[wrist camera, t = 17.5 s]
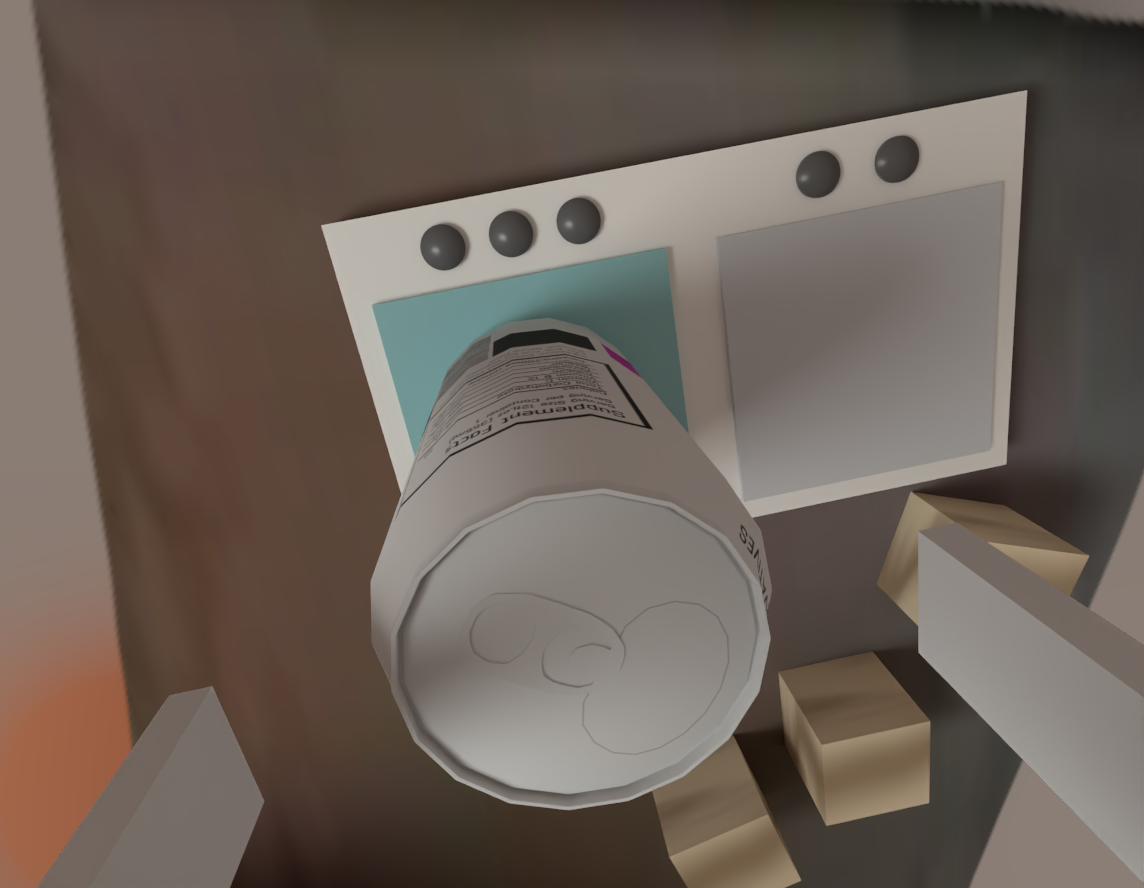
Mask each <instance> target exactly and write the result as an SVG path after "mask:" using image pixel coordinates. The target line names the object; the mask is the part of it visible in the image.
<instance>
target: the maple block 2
mask: <svg viewBox="0 0 1144 888" xmlns="http://www.w3.org/2000/svg"><path fill="white" fill-rule="evenodd" d="M779 683H780V694H781V706H782V717H783V729H784V740H785V747H786V749H787V751H788V753H789V755H790V756H791V758H792V760H793V762H794V764H795V766H796V768H797V770H798V772H799V774H800V776H801V778H802V780H803V781H804V783H805V785H806V787H807V789H808V791H809V793H810V795H811V797H812V799H813V801H814V803H815V805H816V806H817V808H818V810H819V812H820V814H821V816H822V818H823V820H824V822H825V824H826V826H828V825H833V824H837V823H842V822H846V821H851V820H855V819H860V818H864V817H869V816H873V815H878V814H882V813H887V812H891V811H896V810H900V809H904V808H909V807H913V806H918V805H922V804H927V803H929V777H930V720H929V719H928V718H927V717H926V715H925V714H924V713H923V712H922V710H921V709H920V708H919V707H918V706H917V704H916V703H915V702H914V701H913V700H912V698H911V697H910V696H909V695H908V694H907V692H906V691H905V690H904V689H903V688H902V686H901V685H900V684H899V683H898V682H897V680H896V679H895V678H894V677H893V675H892V674H891V673H890V672H889V671H888V669H887V668H886V667H885V666H884V665H883V663H882V662H881V661H880V660H879V659H878V657H877V656H876V655H875V654H874V653H873V651H872V652H867V653H863V654H858V655H853V656H849V657H844V658H840V659H835V660H830V661H826V662H821V663H817V664H812V665H807V666H803V667H798V668H794V669H789V670H785V671H780V672H779Z"/></svg>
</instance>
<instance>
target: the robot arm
mask: <svg viewBox="0 0 1144 888" xmlns="http://www.w3.org/2000/svg"><path fill="white" fill-rule="evenodd" d="M918 652H919V654H920V655H921V656H922V657H923V658H924V659H925V660H926V661H927V662H928V663H929V664H930V665H931V666H932V667H933V668H934V669H935V670H936V671H937V672H938V673H939V674H940V675H941V676H942V677H943V678H944V679H945V680H946V681H947V682H948V683H949V684H950V685H951V686H952V687H953V688H954V689H955V690H956V691H957V692H958V694H959V695H960V696H961V697H962V698H963V699H964V700H965V701H966V702H967V703H968V704H969V705H970V706H971V707H972V708H973V709H974V710H975V711H976V712H977V713H978V714H979V715H980V716H981V717H982V718H983V719H984V720H985V721H986V722H987V723H988V724H989V725H990V726H991V727H992V728H993V729H994V730H995V731H996V732H997V733H998V735H999V736H1000V737H1001V738H1002V739H1003V740H1004V741H1005V742H1006V743H1007V744H1008V745H1009V746H1010V747H1011V748H1012V749H1013V750H1014V751H1015V752H1016V753H1017V754H1018V755H1019V756H1020V757H1021V758H1022V759H1023V760H1024V761H1025V762H1026V763H1027V764H1028V765H1029V766H1030V767H1031V768H1032V769H1033V770H1034V771H1035V772H1036V773H1037V774H1038V776H1039V777H1040V778H1042V780H1043V781H1044V782H1045V783H1046V784H1047V785H1048V786H1049V787H1050V788H1051V789H1052V790H1053V791H1054V792H1055V793H1056V794H1057V795H1058V796H1059V797H1060V798H1061V799H1062V800H1063V801H1064V802H1065V803H1066V804H1067V805H1068V806H1069V807H1070V808H1071V809H1072V810H1073V811H1074V812H1075V813H1076V814H1077V815H1078V817H1079V818H1080V819H1081V820H1083V822H1084V823H1085V824H1086V825H1087V826H1088V827H1089V828H1090V829H1091V830H1092V831H1093V832H1094V833H1095V834H1096V835H1097V836H1098V837H1099V838H1100V839H1101V840H1102V841H1103V842H1104V843H1105V844H1106V845H1107V846H1108V847H1109V848H1110V849H1111V850H1112V851H1113V852H1114V853H1115V854H1116V855H1117V857H1118V858H1119V859H1120V860H1122V862H1123V863H1124V864H1125V865H1126V866H1127V867H1128V868H1129V869H1130V870H1131V871H1132V872H1133V873H1134V874H1135V875H1136V876H1137V877H1138V878H1139V879H1140V880H1141V881H1142V882H1143V883H1144V645H1143V644H1141V643H1140V642H1138V641H1137V640H1135V639H1134V638H1132V637H1131V636H1129V635H1128V634H1126V633H1125V632H1123V631H1122V630H1120V629H1119V628H1117V627H1116V626H1114V625H1113V624H1111V623H1110V622H1108V621H1106V620H1105V619H1103V618H1102V617H1100V616H1099V615H1097V614H1096V613H1094V612H1093V611H1091V610H1090V609H1088V608H1087V607H1085V606H1084V605H1082V604H1081V603H1079V602H1078V601H1076V600H1074V599H1073V598H1071V597H1070V596H1068V595H1067V594H1065V593H1064V592H1062V591H1061V590H1059V589H1058V588H1056V587H1055V586H1053V585H1052V584H1050V583H1049V582H1047V581H1046V580H1044V579H1043V578H1041V577H1039V576H1038V575H1036V574H1035V573H1033V572H1032V571H1030V570H1029V569H1027V568H1026V567H1024V566H1023V565H1021V564H1020V563H1018V562H1017V561H1015V560H1014V559H1012V558H1011V557H1009V556H1007V555H1006V554H1004V553H1003V552H1001V551H1000V550H998V549H997V548H995V547H994V546H992V545H991V544H989V543H988V542H986V541H985V540H983V539H982V538H980V537H979V536H977V535H976V534H974V533H972V532H971V531H969V530H968V529H966V528H965V527H963V526H962V525H960V524H959V523H953V524H948V525H944V526H939V527H935V528H930V529H926V530H921V531H918ZM263 803H264V800H263V797H262V795H261V793H260V791H259V789H258V786H257V784H256V782H255V780H254V778H253V775H252V773H251V771H250V769H249V766H248V764H247V762H246V760H245V758H244V755H243V753H242V751H241V749H240V747H239V744H238V742H237V740H236V738H235V735H234V733H233V731H232V729H231V727H230V724H229V722H228V720H227V718H226V716H225V713H224V711H223V709H222V707H221V704H220V702H219V700H218V698H217V696H216V693H215V691H214V689H213V687H212V686H211V687H206V688H202V689H197V690H193V691H188V692H184V693H179V694H175V695H170V696H168V698H167V699H166V701H165V702H164V704H163V705H162V707H161V708H160V709H159V711H158V712H157V714H156V715H155V717H154V718H153V720H152V721H151V723H150V724H149V725H148V727H147V728H146V730H145V731H144V733H143V734H142V736H141V737H140V739H139V740H138V741H137V743H136V744H135V746H134V747H133V749H132V750H131V752H130V753H129V755H128V756H127V757H126V759H125V760H124V762H123V763H122V765H121V766H120V768H119V769H118V770H117V772H116V773H115V775H114V776H113V778H112V779H111V781H110V782H109V784H108V785H107V787H106V788H105V789H104V791H103V792H102V794H101V795H100V797H99V798H98V800H97V801H96V802H95V804H94V806H93V807H92V808H91V810H90V811H89V813H88V814H87V816H86V817H85V818H84V820H83V821H82V823H81V824H80V826H79V827H78V829H77V830H76V832H75V833H74V834H73V836H72V837H71V839H70V840H69V842H68V843H67V845H66V846H65V847H64V849H63V851H62V852H61V853H60V855H59V856H58V858H57V859H56V861H55V862H54V863H53V865H52V866H51V868H50V869H49V871H48V872H47V874H46V875H45V876H44V878H43V879H42V881H41V882H40V884H39V885H38V887H37V888H230V886H231V884H232V881H233V879H234V876H235V874H236V871H237V869H238V866H239V864H240V861H241V859H242V856H243V854H244V851H245V849H246V846H247V844H248V841H249V839H250V836H251V834H252V831H253V829H254V826H255V824H256V821H257V819H258V816H259V813H260V811H261V808H262V806H263Z"/></svg>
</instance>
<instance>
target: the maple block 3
mask: <svg viewBox="0 0 1144 888" xmlns="http://www.w3.org/2000/svg"><path fill="white" fill-rule="evenodd" d="M953 523H959V524H960V525H962V526H963V527H965V528H966V529H968V530H969V531H971V532H972V533H974V534H976V535H977V536H979V537H980V538H982V539H983V540H985V541H986V542H988V543H989V544H991V545H992V546H994V547H995V548H997V549H998V550H1000V551H1001V552H1003V553H1004V554H1006V555H1007V556H1009V557H1011V558H1012V559H1014V560H1015V561H1017V562H1018V563H1020V564H1021V565H1023V566H1024V567H1026V568H1027V569H1029V570H1030V571H1032V572H1033V573H1035V574H1036V575H1038V576H1039V577H1041V578H1043V579H1044V580H1046V581H1047V582H1049V583H1050V584H1052V585H1053V586H1055V587H1056V588H1058V589H1059V590H1061V591H1062V592H1064V593H1065V594H1067V595H1068V596H1070V594H1071V592H1072V590H1073V588H1074V586H1075V584H1076V582H1077V580H1078V578H1079V576H1080V574H1081V572H1082V570H1083V568H1084V566H1085V564H1086V562H1087V560H1088V558H1089V555H1087V554H1086V553H1084V552H1082V551H1081V550H1079V549H1077V548H1076V547H1074V546H1072V545H1071V544H1069V543H1067V542H1065V541H1064V540H1062V539H1060V538H1059V537H1057V536H1055V535H1054V534H1052V533H1050V532H1049V531H1047V530H1045V529H1044V528H1042V527H1040V526H1039V525H1037V524H1035V523H1033V522H1032V521H1030V520H1028V519H1027V518H1025V517H1023V516H1022V515H1020V514H1018V513H1017V512H1015V511H1013V510H1012V509H1010V508H1008V507H1006V506H1005V505H999V504H992V503H985V502H978V501H971V500H964V499H957V498H950V497H944V496H937V495H930V494H923V493H916V492H911V493H910V496H909V499H908V501H907V504H906V507H905V509H904V512H903V515H902V517H901V520H900V522H899V525H898V528H897V530H896V533H895V536H894V538H893V541H892V544H891V546H890V549H889V552H888V554H887V557H886V559H885V562H884V565H883V567H882V570H881V573H880V575H879V578H878V581H877V583H876V584H877V585H878V586H879V587H880V588H881V589H882V590H883V591H884V592H885V593H886V594H887V595H888V596H889V597H890V598H891V599H892V600H893V601H894V602H895V603H896V604H897V605H898V606H899V607H900V608H901V609H902V610H903V611H904V612H905V613H906V614H907V615H908V616H909V617H910V618H911V619H912V620H913V621H914V622H915V623H916V624H917V625H918V531H921V530H926V529H930V528H935V527H939V526H944V525H948V524H953Z"/></svg>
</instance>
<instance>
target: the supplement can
mask: <svg viewBox="0 0 1144 888" xmlns="http://www.w3.org/2000/svg"><path fill="white" fill-rule="evenodd" d="M771 592H772V587H771V581H770V576H769V571H768V565H767V560H766V555H765V549H764V544H763V539H762V533H761V530H760V529H759V527H758V526H757V524H756V523H755V521H754V520H753V518H752V517H751V515H750V514H749V512H748V511H747V509H746V508H745V506H744V505H743V503H742V502H741V501H740V499H739V498H738V496H737V495H736V493H735V492H734V490H733V489H732V487H731V486H730V484H729V483H728V481H727V480H726V478H725V477H724V476H723V475H722V474H721V472H720V471H719V470H718V469H717V468H716V466H715V465H714V464H713V463H712V461H711V460H710V459H709V458H708V457H707V455H706V454H705V453H704V452H703V451H702V449H701V448H700V447H699V446H698V445H697V443H696V442H695V441H694V440H693V439H692V437H691V436H690V435H689V434H688V433H687V431H686V430H685V429H684V428H683V427H682V425H681V424H680V423H679V422H678V421H677V419H676V418H675V417H674V416H673V415H672V413H671V412H670V411H669V410H668V409H667V407H666V406H665V405H664V404H663V402H662V401H661V400H660V399H659V398H658V396H657V395H656V394H655V393H654V392H653V390H652V389H651V388H650V387H649V386H648V384H647V383H646V382H645V381H644V380H643V378H642V377H641V376H640V375H639V374H638V372H637V371H636V370H635V369H634V368H633V366H632V365H631V364H630V363H629V362H628V360H627V359H626V358H625V357H624V356H623V354H622V353H621V352H620V351H619V349H618V348H616V347H615V346H613V345H612V344H610V343H609V342H608V341H606V340H605V339H603V338H602V337H600V336H599V335H597V334H596V333H594V332H593V331H592V330H590V329H589V328H587V327H584V326H580V325H576V324H572V323H568V322H564V321H560V320H556V319H552V318H541V319H532V320H523V321H513V322H509V323H507V324H505V325H503V326H501V327H499V328H497V329H494V330H492V331H490V332H488V333H486V334H484V335H482V336H480V337H478V338H476V339H475V340H474V341H473V342H472V343H471V344H470V345H469V346H468V347H467V348H466V349H465V350H464V351H463V352H462V353H461V354H460V356H459V357H458V358H457V359H456V360H455V361H454V362H453V363H452V364H451V365H450V366H449V367H448V370H447V372H446V375H445V377H444V380H443V382H442V384H441V387H440V389H439V392H438V394H437V397H436V399H435V402H434V404H433V407H432V410H431V413H430V416H429V419H428V421H427V424H426V427H425V430H424V433H423V435H422V438H421V441H420V444H419V447H418V450H417V452H416V455H415V458H414V461H413V464H412V466H411V469H410V472H409V475H408V478H407V481H406V483H405V486H404V489H403V492H402V495H401V497H400V500H399V503H398V506H397V509H396V512H395V514H394V517H393V520H392V523H391V526H390V528H389V531H388V534H387V537H386V540H385V543H384V545H383V548H382V551H381V554H380V557H379V559H378V562H377V565H376V568H375V571H374V574H373V576H372V579H371V625H372V645H373V647H374V650H375V652H376V654H377V656H378V658H379V660H380V663H381V665H382V667H383V669H384V671H385V674H386V676H387V678H388V680H389V682H390V684H391V692H392V694H393V696H394V699H395V701H396V703H397V705H398V707H399V709H400V711H401V714H402V716H403V718H404V720H405V722H406V724H407V727H408V729H409V731H410V733H411V735H412V737H413V740H414V742H415V743H416V744H417V745H418V746H419V747H421V748H422V749H423V750H424V751H425V752H426V753H427V754H428V755H429V756H430V757H431V758H432V759H434V760H435V761H436V762H437V763H438V764H439V765H440V766H441V767H442V768H443V769H444V770H445V771H447V772H448V773H449V774H450V775H451V776H452V777H453V778H454V779H455V780H457V781H459V782H461V783H464V784H466V785H468V786H471V787H473V788H475V789H477V790H480V791H482V792H484V793H487V794H489V795H491V796H494V797H496V798H498V799H501V800H503V801H505V802H507V803H511V804H520V805H529V806H537V807H546V808H555V809H563V810H573V809H579V808H586V807H592V806H599V805H605V804H612V803H618V802H625V801H630V800H632V799H634V798H636V797H639V796H641V795H643V794H645V793H648V792H650V791H652V790H655V789H657V788H659V787H661V786H664V785H666V784H668V783H670V782H673V781H675V780H677V779H679V778H682V777H684V776H685V775H686V774H687V773H689V772H690V771H691V770H692V769H694V768H695V767H696V766H697V765H698V764H700V763H701V762H702V761H703V760H704V759H706V758H707V757H708V756H709V755H710V754H712V753H713V752H714V751H715V750H716V749H718V748H719V747H720V746H721V745H723V744H724V743H725V742H726V741H727V740H729V738H730V737H731V735H732V734H733V732H734V730H735V729H736V727H737V726H738V724H739V723H740V721H741V719H742V718H743V716H744V715H745V713H746V712H747V710H748V709H749V707H750V705H751V704H752V702H753V701H754V699H755V698H756V696H757V695H758V693H759V691H760V686H761V681H762V677H763V672H764V667H765V663H766V658H767V654H768V649H769V644H770V640H771V637H770V632H769V627H768V622H767V613H768V608H769V603H770V598H771Z"/></svg>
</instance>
